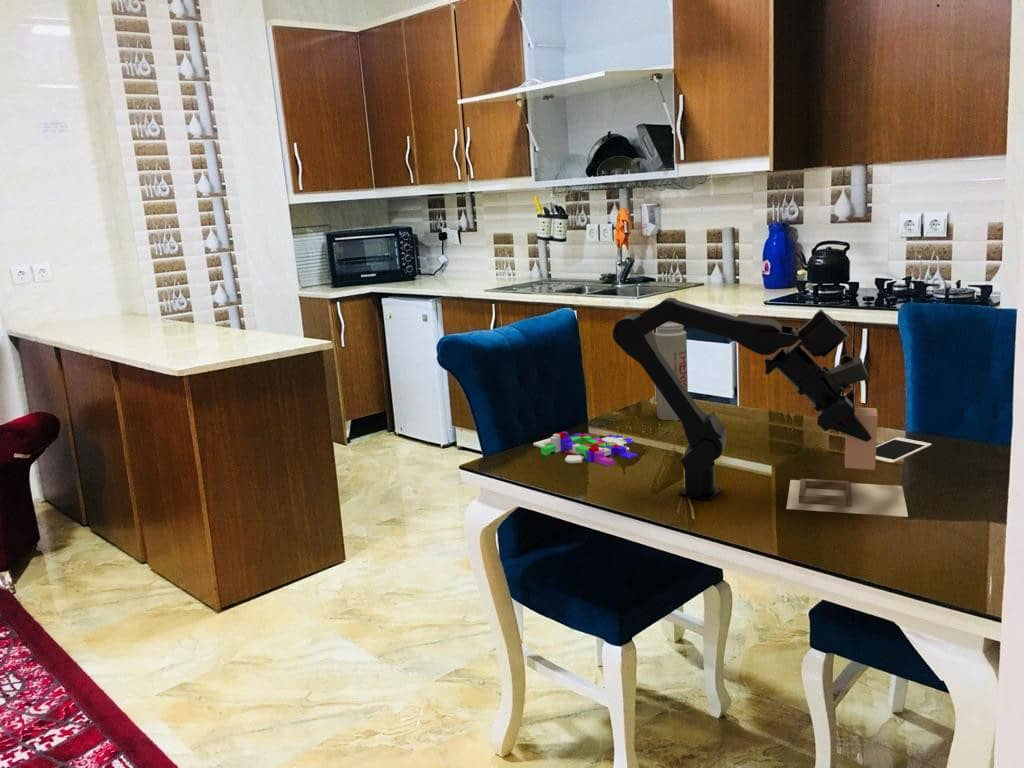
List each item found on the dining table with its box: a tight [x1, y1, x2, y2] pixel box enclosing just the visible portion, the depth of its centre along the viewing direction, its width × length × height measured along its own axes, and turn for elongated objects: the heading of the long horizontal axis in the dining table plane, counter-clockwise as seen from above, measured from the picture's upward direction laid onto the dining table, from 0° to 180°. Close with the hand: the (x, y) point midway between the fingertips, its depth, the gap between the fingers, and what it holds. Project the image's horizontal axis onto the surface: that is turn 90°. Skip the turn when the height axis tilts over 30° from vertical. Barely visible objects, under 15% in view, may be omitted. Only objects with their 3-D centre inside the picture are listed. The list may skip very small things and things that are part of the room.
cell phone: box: [876, 437, 932, 464], centre depth 180 cm, size 8×16×1 cm, turn 127°
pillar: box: [844, 406, 879, 471], centre depth 151 cm, size 5×5×10 cm
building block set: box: [533, 430, 639, 467], centre depth 196 cm, size 25×20×4 cm
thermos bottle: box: [653, 321, 689, 421], centre depth 213 cm, size 8×8×28 cm
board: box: [785, 478, 909, 518], centre depth 154 cm, size 20×15×2 cm
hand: (868, 435), depth 150 cm, fingers closed on pillar, 5 cm apart
